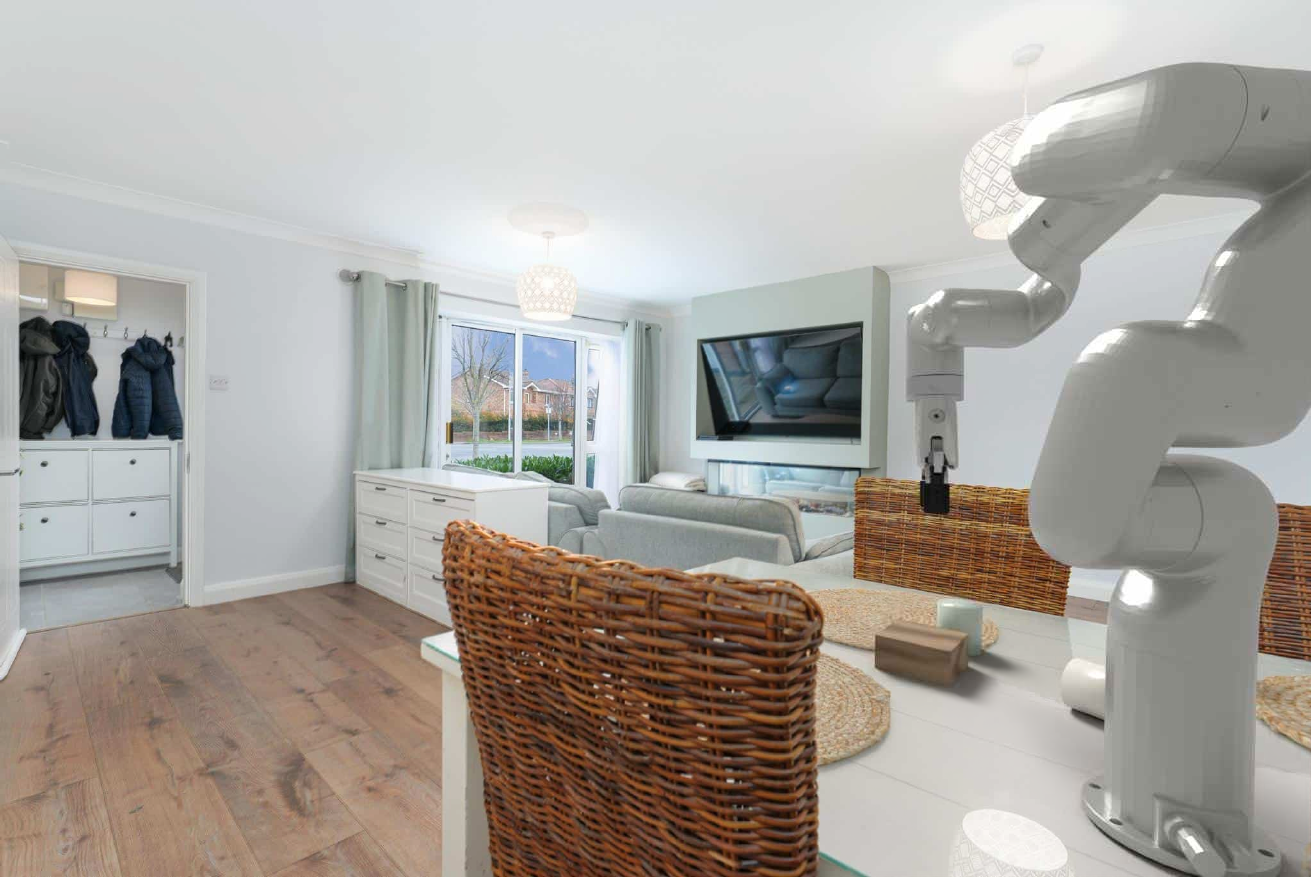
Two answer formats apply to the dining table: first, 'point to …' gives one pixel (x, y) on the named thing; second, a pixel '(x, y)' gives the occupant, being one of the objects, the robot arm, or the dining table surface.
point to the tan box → (922, 651)
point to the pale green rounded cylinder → (962, 620)
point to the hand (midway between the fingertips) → (933, 510)
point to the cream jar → (1084, 687)
